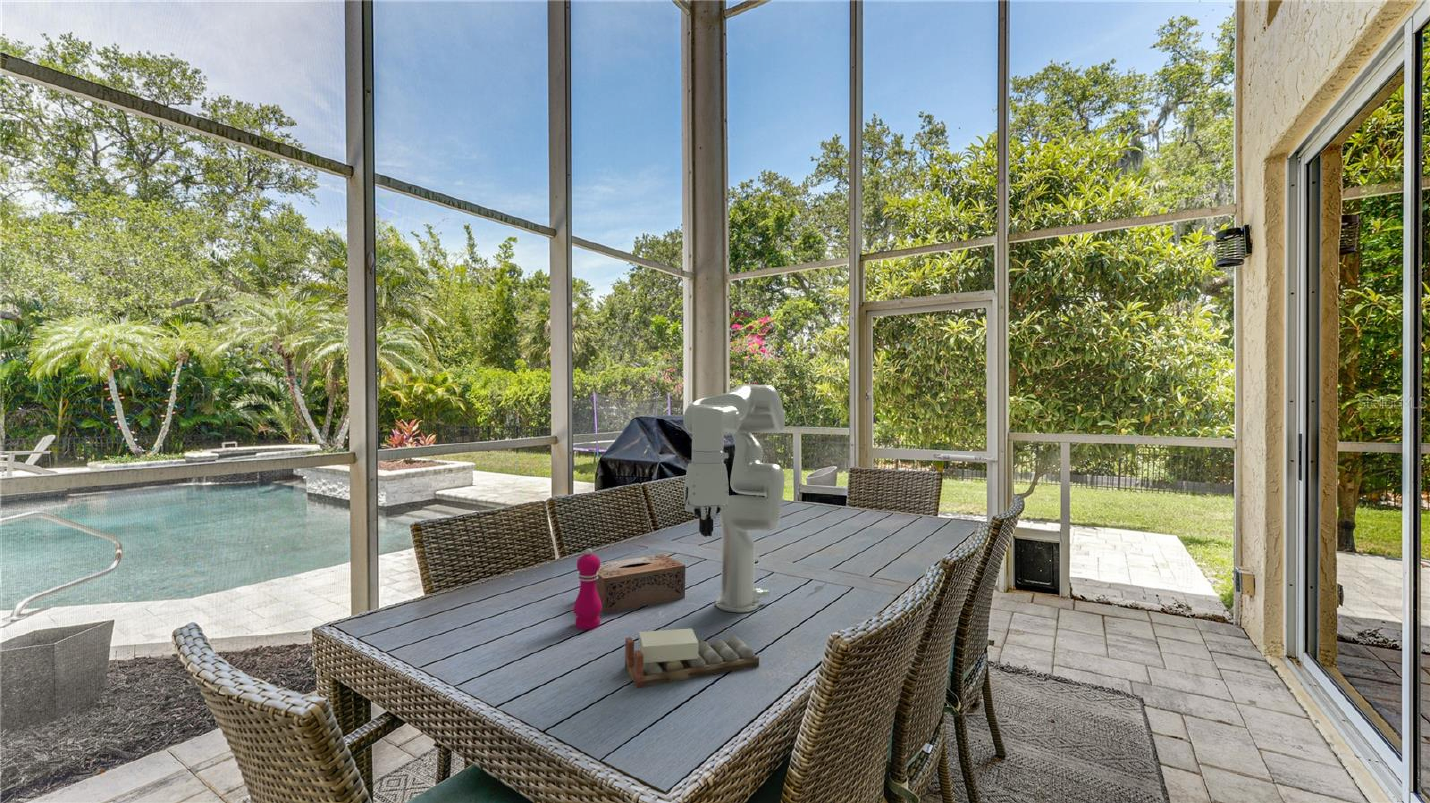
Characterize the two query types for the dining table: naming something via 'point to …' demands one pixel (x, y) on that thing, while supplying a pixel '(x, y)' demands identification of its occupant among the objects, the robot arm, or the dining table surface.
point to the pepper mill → (588, 592)
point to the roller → (672, 665)
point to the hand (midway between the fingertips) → (706, 534)
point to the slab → (668, 645)
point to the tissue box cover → (639, 582)
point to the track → (691, 662)
